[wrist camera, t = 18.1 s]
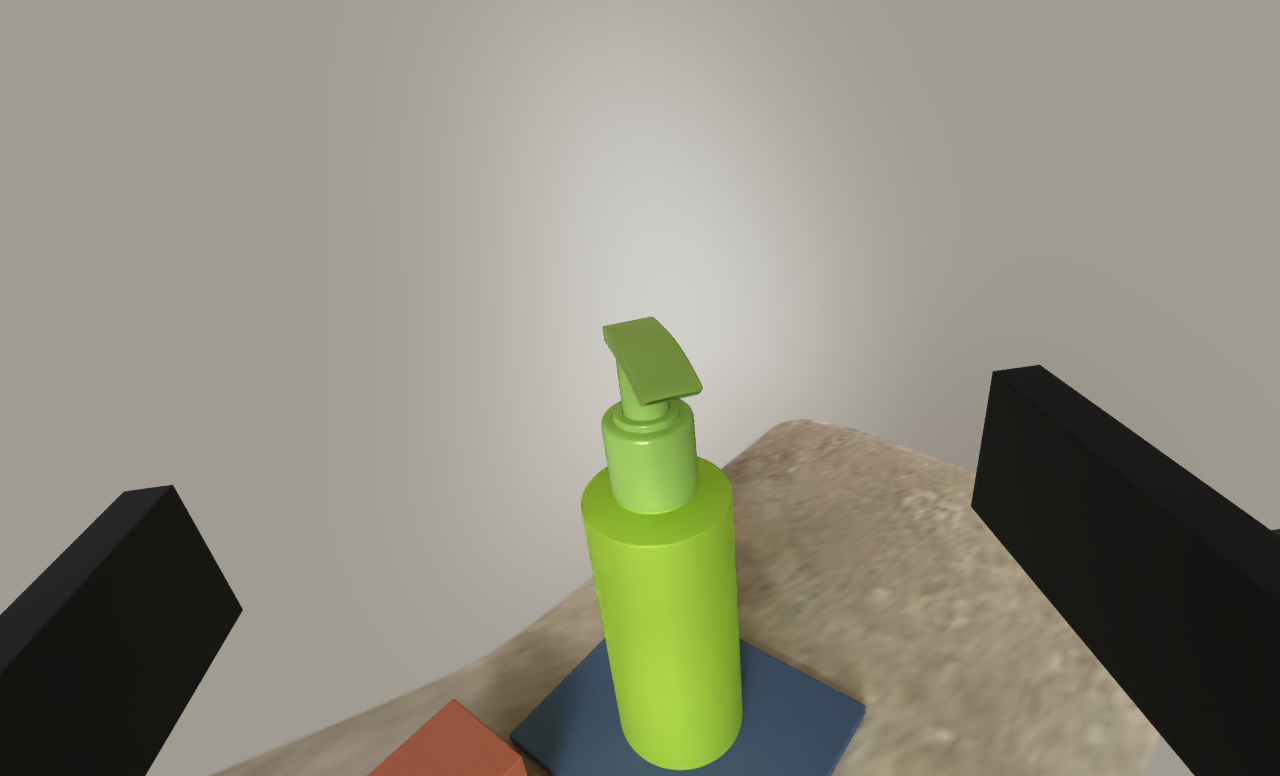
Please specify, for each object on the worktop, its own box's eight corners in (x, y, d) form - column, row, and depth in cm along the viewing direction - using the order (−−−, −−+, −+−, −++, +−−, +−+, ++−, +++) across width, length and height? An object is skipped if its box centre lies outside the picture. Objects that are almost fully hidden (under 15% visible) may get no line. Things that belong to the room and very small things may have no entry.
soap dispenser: (644, 812, 28) (571, 402, 18) (608, 678, 34) (540, 316, 24) (773, 768, 29) (767, 359, 19) (716, 646, 35) (690, 287, 25)
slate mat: (865, 712, 31) (866, 705, 31) (742, 936, 24) (742, 930, 24) (651, 597, 39) (650, 591, 39) (510, 741, 32) (508, 734, 32)
